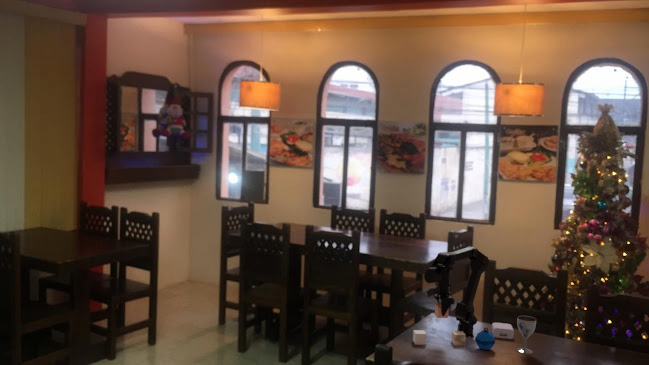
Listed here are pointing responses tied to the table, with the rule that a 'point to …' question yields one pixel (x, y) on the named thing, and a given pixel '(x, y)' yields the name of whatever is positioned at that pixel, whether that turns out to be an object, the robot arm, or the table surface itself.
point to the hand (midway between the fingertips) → (441, 313)
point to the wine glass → (525, 331)
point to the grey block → (419, 337)
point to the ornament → (485, 339)
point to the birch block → (458, 338)
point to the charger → (502, 330)
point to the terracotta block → (438, 311)
